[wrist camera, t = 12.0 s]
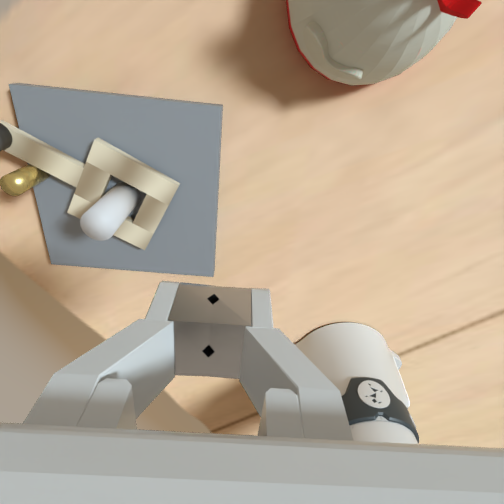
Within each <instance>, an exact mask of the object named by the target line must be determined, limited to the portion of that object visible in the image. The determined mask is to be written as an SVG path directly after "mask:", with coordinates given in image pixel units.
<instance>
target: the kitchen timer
mask: <svg viewBox="0 0 504 504" xmlns="http://www.w3.org/2000/svg"><path fill="white" fill-rule="evenodd" d="M480 4H481V2H480V1H478V0H286V5H287V13H288V22H289V29H290V31H291V34H292V36H293V39H294V42H295V44H296V47H297V49H298V51H299V52H300V54H301V55H302V56H303V58H304V59H305V60H306V62H307V63H308V64H309V66H310V67H311V68H312V69H314V70H315V71H317V72H318V73H320V74H321V75H323V76H324V77H325V78H327V79H329V80H333V81H336V82H340V83H344V84H347V85H365V84H375V83H378V82H381V81H383V80H386V79H389V78H391V77H394V76H397V75H399V74H401V73H402V72H403V71H405V70H406V69H408V68H409V67H411V66H412V65H413V64H415V63H416V62H418V61H419V60H420V59H422V58H423V57H424V56H425V55H427V54H428V53H429V52H430V51H431V50H432V49H433V48H434V47H435V45H436V44H437V43H438V42H439V41H440V40H441V39H442V38H443V37H444V35H445V34H446V33H447V32H448V31H449V30H450V28H451V27H452V25H453V23H454V22H455V20H456V18H457V17H460V18H469V17H470V16H471V14H472V13H473V12H474V11H475V10H476V9H477V8H478V7H479V6H480Z"/></svg>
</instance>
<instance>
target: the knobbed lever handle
mask: <svg viewBox="0 0 504 504" xmlns="http://www.w3.org/2000/svg"><path fill="white" fill-rule="evenodd" d="M1 150H4V151H6V152H8V153H10V154H12V155H14V156H16V157H18V158H19V159H21V160H23V161H25V162H27V163H29V164H31V165H33V166H35V167H37V168H39V169H41V170H43V171H45V172H47V173H49V174H51V175H53V176H55V177H57V178H59V179H61V180H63V181H64V182H66V183H68V184H70V185H72V186H74V187H76V190H75V193H74V196H73V198H72V201H71V204H70V206H69V209H68V212H67V213H69V214H71V215H73V216H75V217H77V218H79V219H81V217H82V215H83V214H84V213H85V212H86V211H87V210H88V209H90V208H91V207H92V206H93V205H94V204H95V203H96V202H97V201H98V200H99V199H100V198H102V197H103V196H104V193H105V191H106V189H107V186H108V184H109V181H110V179H111V177H112V176H114V177H116V178H118V179H120V180H122V181H124V182H125V183H127V184H129V185H131V186H133V187H135V188H137V189H138V190H140V191H142V192H144V193H146V196H145V198H144V201H143V203H142V205H141V207H140V209H139V211H138V213H137V215H136V217H135V219H133V218H131V217H129V216H128V217H127V218H126V219H125V220H124V222H123V223H122V224H121V226H120V227H119V228H118V229H117V231H116V232H115V233H114V234H113V235H114V236H116V237H118V238H120V239H123V240H125V241H127V242H129V243H131V244H133V245H135V246H137V247H139V248H141V249H143V250H145V249H146V247H147V245H148V244H149V242H150V240H151V238H152V236H153V234H154V232H155V230H156V228H157V226H158V225H159V223H160V221H161V219H162V217H163V215H164V213H165V211H166V209H167V208H168V206H169V204H170V202H171V200H172V198H173V196H174V194H175V192H176V190H177V189H178V187H179V185H180V183H179V182H177V181H175V180H173V179H172V178H170V177H168V176H166V175H164V174H163V173H161V172H159V171H157V170H155V169H154V168H152V167H150V166H148V165H147V164H145V163H143V162H141V161H139V160H138V159H136V158H134V157H132V156H131V155H129V154H127V153H125V152H123V151H122V150H120V149H118V148H116V147H115V146H113V145H111V144H109V143H107V142H106V141H104V140H102V139H100V138H96V139H94V142H93V144H92V147H91V150H90V153H89V155H88V158H87V161H86V163H85V164H84V163H82V162H80V161H78V160H77V159H75V158H73V157H71V156H69V155H67V154H65V153H63V152H62V151H60V150H58V149H56V148H54V147H52V146H50V145H48V144H47V143H45V142H43V141H41V140H39V139H37V138H35V137H33V136H32V135H30V134H28V133H26V132H24V131H22V130H20V129H18V128H17V127H15V126H13V125H11V124H9V123H7V122H5V121H3V120H0V151H1Z"/></svg>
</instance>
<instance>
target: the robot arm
mask: <svg viewBox="0 0 504 504" xmlns="http://www.w3.org/2000/svg"><path fill="white" fill-rule="evenodd" d="M401 365H402V362H401V359H400V357H399V356H398V355H397V354H396V353H394V352H393V351H391V350H390V349H389V347H388V345H387V343H386V341H385V339H384V338H383V336H382V335H381V334H380V333H379V332H378V331H376V330H375V329H373V328H371V327H369V326H366V325H363V324H359V323H349V322H347V323H335V324H331V325H327V326H324V327H321V328H319V329H317V330H315V331H313V332H312V333H310V334H309V335H307V336H306V337H305V338H304V339H302V340H301V341H300V342H298V343H296V344H293V343H292V342H291V341H290V340H289V339H288V338H287V337H286V335H285V334H284V333H283V332H282V331H281V330H280V329H276V328H273V317H272V307H271V296H270V290H269V289H262V288H235V287H220V286H212V285H202V284H191V283H179V282H168V281H162V282H161V283H159V285H158V288H157V290H156V293H155V295H154V298H153V300H152V303H151V305H150V307H149V310H148V312H147V315H146V317H145V319H138V320H137V321H135V322H134V323H132V324H131V325H129V326H127V327H126V328H124V329H123V330H121V331H120V332H118V333H116V334H115V335H113V336H112V337H110V338H109V339H107V340H106V341H104V342H102V343H101V344H99V345H98V346H96V347H95V348H93V349H92V350H90V351H88V352H87V353H85V354H84V355H82V356H81V357H79V358H77V359H76V360H75V361H73V362H71V363H70V364H68V365H66V366H65V367H63V368H62V369H60V370H59V371H57V372H56V373H54V375H53V376H52V378H51V379H50V381H49V382H48V384H47V386H46V387H45V389H44V390H43V392H42V394H41V395H40V397H39V398H38V400H37V401H36V403H35V405H34V406H33V408H32V409H31V411H30V413H29V414H28V416H27V417H26V419H25V421H24V422H23V424H19V423H0V504H504V448H485V447H466V446H446V445H427V444H419V436H418V433H417V431H416V426H415V424H414V421H413V419H412V417H411V415H410V414H409V412H408V410H407V409H408V407H409V406H410V401H409V397H408V395H407V392H406V389H405V386H404V384H403V381H402V378H401V375H400V373H399V369H400V367H401ZM175 375H185V376H207V375H208V376H210V377H222V378H233V379H239V381H240V383H241V384H242V386H243V388H244V389H245V391H246V393H247V395H248V396H249V398H250V400H251V401H252V403H253V405H254V407H255V408H256V410H257V412H258V413H259V415H260V417H261V420H260V426H259V431H258V436H252V435H233V434H214V433H194V432H175V431H155V430H137V427H136V419H137V417H138V416H139V415H140V414H141V413H142V412H143V411H144V410H145V409H146V408H147V407H148V405H149V404H150V403H151V402H152V401H153V400H154V399H155V398H156V397H157V396H158V395H159V394H160V392H161V391H162V390H163V389H164V388H165V387H166V386H167V385H168V384H169V383H170V382H171V381H172V379H173V378H174V377H175Z"/></svg>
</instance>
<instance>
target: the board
mask: <svg viewBox="0 0 504 504" xmlns="http://www.w3.org/2000/svg"><path fill="white" fill-rule="evenodd" d="M9 87H10V92H11V96H12V100H13V104H14V108H15V113H16V117H17V121H18V125H19V129H20V130H22V131H24V132H26V133H28V134H30V135H32V136H33V137H35V138H37V139H39V140H41V141H43V142H45V143H47V144H48V145H50V146H52V147H54V148H56V149H58V150H60V151H62V152H63V153H65V154H67V155H69V156H71V157H73V158H75V159H77V160H78V161H80V162H82V163H84V164H85V163H86V161H87V158H88V155H89V153H90V150H91V147H92V144H93V142H94V139H96V138H100V139H102V140H104V141H106V142H107V143H109V144H111V145H113V146H115V147H116V148H118V149H120V150H122V151H123V152H125V153H127V154H129V155H131V156H132V157H134V158H136V159H138V160H139V161H141V162H143V163H145V164H147V165H148V166H150V167H152V168H154V169H155V170H157V171H159V172H161V173H163V174H164V175H166V176H168V177H170V178H172V179H173V180H175V181H177V182H179V183H180V185H179V187H178V189H177V190H176V192H175V194H174V196H173V198H172V200H171V202H170V204H169V206H168V208H167V209H166V211H165V213H164V215H163V217H162V219H161V221H160V223H159V225H158V226H157V228H156V230H155V232H154V234H153V236H152V238H151V240H150V242H149V244H148V245H147V247H146V249H145V250H143V249H141V248H139V247H137V246H135V245H133V244H131V243H129V242H127V241H125V240H123V239H120V238H118V237H116V236H114V235H113V234H114V233H115V232H116V231H117V229H118V228H119V227H120V226H121V224H122V223H123V222H124V220H125V219H126V218H127V217H128V216H129V217H131V218H133V219H135V217H136V215H137V213H138V211H139V209H140V207H141V205H142V203H143V201H144V198H145V196H146V193H144V192H142V191H140V190H138V189H137V188H135V187H133V186H131V185H129V184H127V183H125V182H124V181H122V180H120V179H118V178H116V177H114V176H112V177H111V179H110V181H109V184H108V186H107V189H106V191H105V193H104V196H103V197H102V198H100V199H99V200H98V201H97V202H96V203H95V204H94V205H93V206H92V207H91V208H90V209H88V210H87V211H86V212H85V213H84V214H83V215H82V217H81V219H79V218H77V217H75V216H73V215H71V214H69V213H67V212H68V209H69V206H70V204H71V201H72V198H73V196H74V193H75V190H76V187H74V186H72V185H70V184H68V183H66V182H64V181H63V180H61V179H59V178H57V177H55V176H53V175H51V174H50V177H49V178H48V179H46V180H44V181H43V182H41V183H39V184H38V185H36V186H34V187H33V189H34V193H35V197H36V201H37V206H38V210H39V214H40V218H41V222H42V227H43V231H44V235H45V239H46V244H47V248H48V252H49V256H50V260H51V264H56V265H68V266H81V267H94V268H107V269H120V270H132V271H145V272H158V273H171V274H183V275H196V276H209V277H213V276H214V269H215V249H216V229H217V210H218V190H219V170H220V150H221V130H222V111H223V105H219V104H210V103H201V102H191V101H182V100H172V99H163V98H153V97H144V96H135V95H125V94H116V93H106V92H97V91H87V90H78V89H69V88H59V87H50V86H40V85H31V84H21V83H15V84H9ZM28 164H29V163H28Z"/></svg>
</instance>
